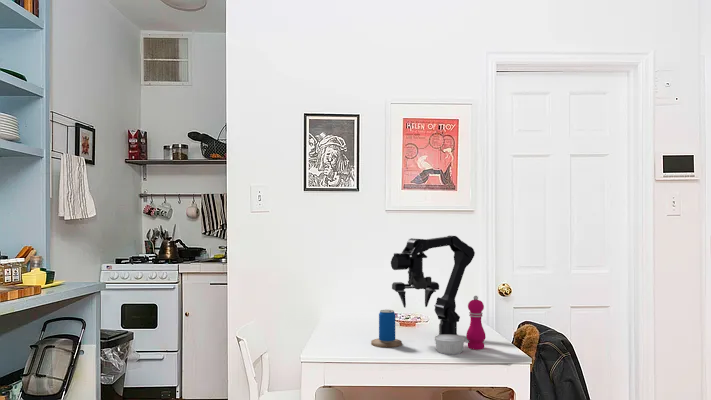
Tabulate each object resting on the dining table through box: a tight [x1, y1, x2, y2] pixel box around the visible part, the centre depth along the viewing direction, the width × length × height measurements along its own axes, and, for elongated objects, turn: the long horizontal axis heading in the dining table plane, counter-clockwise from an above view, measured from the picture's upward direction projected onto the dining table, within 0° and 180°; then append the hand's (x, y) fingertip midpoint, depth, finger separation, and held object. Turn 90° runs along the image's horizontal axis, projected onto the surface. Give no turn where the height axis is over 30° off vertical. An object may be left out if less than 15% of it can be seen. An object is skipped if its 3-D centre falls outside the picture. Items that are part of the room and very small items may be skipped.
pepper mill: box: [465, 295, 486, 351], centre depth 216 cm, size 7×7×20 cm
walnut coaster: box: [370, 338, 403, 348], centre depth 222 cm, size 12×12×1 cm
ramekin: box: [434, 334, 466, 355], centre depth 211 cm, size 11×11×5 cm
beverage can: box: [378, 309, 396, 343], centre depth 222 cm, size 6×6×12 cm
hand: (415, 307), depth 231 cm, fingers open, 9 cm apart
